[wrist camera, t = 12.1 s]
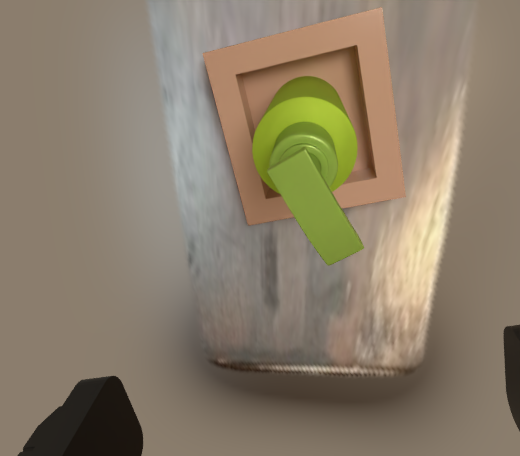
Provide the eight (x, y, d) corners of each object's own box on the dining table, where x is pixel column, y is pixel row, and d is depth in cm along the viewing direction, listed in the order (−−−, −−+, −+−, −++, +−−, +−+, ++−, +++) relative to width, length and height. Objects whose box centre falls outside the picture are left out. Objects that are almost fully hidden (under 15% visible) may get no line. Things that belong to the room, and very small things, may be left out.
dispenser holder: (212, 51, 37) (202, 53, 34) (375, 9, 35) (382, 7, 32) (253, 210, 42) (248, 225, 39) (397, 183, 40) (405, 196, 37)
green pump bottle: (299, 171, 40) (290, 290, 21) (257, 101, 38) (206, 165, 19) (361, 136, 38) (408, 232, 20) (320, 61, 36) (330, 89, 18)
